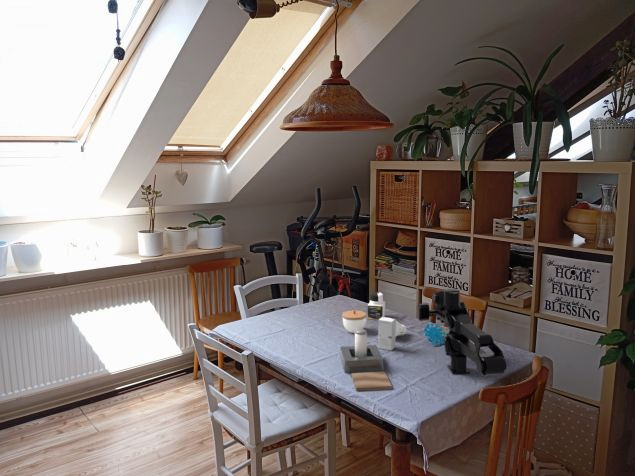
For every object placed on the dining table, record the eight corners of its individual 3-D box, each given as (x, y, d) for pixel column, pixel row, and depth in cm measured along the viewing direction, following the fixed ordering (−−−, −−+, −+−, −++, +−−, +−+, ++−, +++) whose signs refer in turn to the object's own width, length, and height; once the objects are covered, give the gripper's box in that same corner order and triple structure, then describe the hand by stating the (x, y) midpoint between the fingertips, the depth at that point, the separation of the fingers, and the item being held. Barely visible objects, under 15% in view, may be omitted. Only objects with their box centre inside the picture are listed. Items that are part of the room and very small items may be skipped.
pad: (391, 388, 180) (391, 386, 180) (356, 390, 179) (356, 388, 179) (384, 374, 192) (384, 371, 192) (351, 375, 191) (351, 373, 191)
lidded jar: (370, 332, 235) (370, 312, 233) (348, 336, 231) (348, 315, 229) (360, 325, 245) (359, 305, 243) (338, 328, 241) (338, 308, 239)
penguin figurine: (380, 317, 227) (401, 315, 234) (378, 337, 228) (399, 334, 235) (390, 321, 222) (411, 318, 229) (388, 341, 223) (409, 338, 230)
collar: (383, 370, 195) (383, 358, 194) (344, 372, 194) (344, 360, 193) (376, 356, 209) (375, 345, 208) (340, 357, 208) (340, 346, 207)
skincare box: (377, 348, 217) (377, 319, 215) (382, 344, 220) (381, 316, 218) (392, 350, 214) (392, 321, 212) (396, 347, 217) (396, 318, 215)
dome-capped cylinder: (367, 366, 199) (367, 332, 197) (356, 366, 199) (355, 333, 197) (365, 361, 204) (365, 328, 201) (354, 362, 203) (354, 329, 201)
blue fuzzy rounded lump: (429, 344, 215) (422, 322, 221) (422, 350, 220) (415, 328, 225) (452, 344, 219) (444, 322, 225) (444, 350, 224) (437, 328, 229)
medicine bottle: (367, 319, 253) (367, 294, 251) (370, 314, 260) (370, 290, 258) (382, 320, 251) (382, 295, 249) (385, 315, 258) (385, 291, 256)
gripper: (472, 293, 201) (455, 284, 216) (424, 296, 198) (410, 287, 213) (472, 321, 202) (455, 311, 218) (424, 325, 200) (411, 314, 215)
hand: (433, 305), depth 216 cm, fingers open, 9 cm apart
